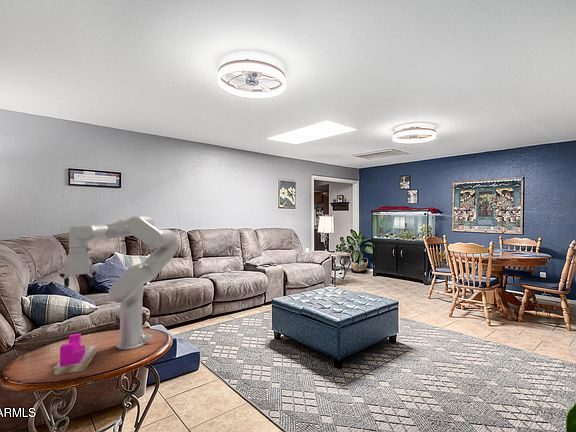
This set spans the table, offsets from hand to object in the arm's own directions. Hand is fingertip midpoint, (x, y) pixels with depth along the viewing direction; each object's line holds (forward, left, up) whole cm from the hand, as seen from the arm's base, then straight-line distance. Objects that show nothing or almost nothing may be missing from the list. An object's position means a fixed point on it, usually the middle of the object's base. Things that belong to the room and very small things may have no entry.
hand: (78, 286), depth 152 cm
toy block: (-5, +25, -26) cm, 36 cm away
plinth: (-5, +23, -28) cm, 37 cm away
